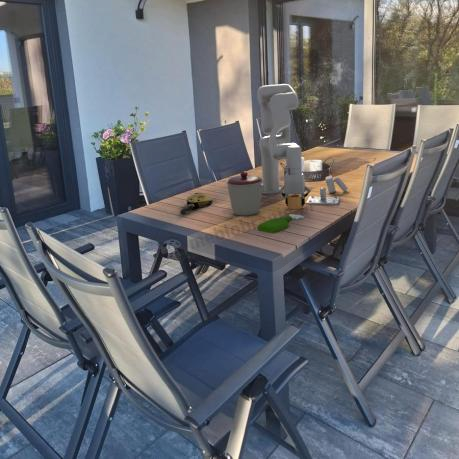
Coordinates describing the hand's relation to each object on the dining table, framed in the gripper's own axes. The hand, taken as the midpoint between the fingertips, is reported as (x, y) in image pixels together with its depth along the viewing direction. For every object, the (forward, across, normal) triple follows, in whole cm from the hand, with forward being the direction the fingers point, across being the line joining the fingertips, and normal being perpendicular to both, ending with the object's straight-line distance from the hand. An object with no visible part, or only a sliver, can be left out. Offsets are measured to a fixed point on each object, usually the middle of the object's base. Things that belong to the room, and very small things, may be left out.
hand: (295, 205), depth 246 cm
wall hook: (+1, +17, +32) cm, 36 cm away
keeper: (+1, +12, +12) cm, 17 cm away
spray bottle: (+2, -1, -27) cm, 27 cm away
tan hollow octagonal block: (+1, 0, 0) cm, 1 cm away
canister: (+1, -22, -11) cm, 25 cm away
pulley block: (+2, -54, -2) cm, 54 cm away
